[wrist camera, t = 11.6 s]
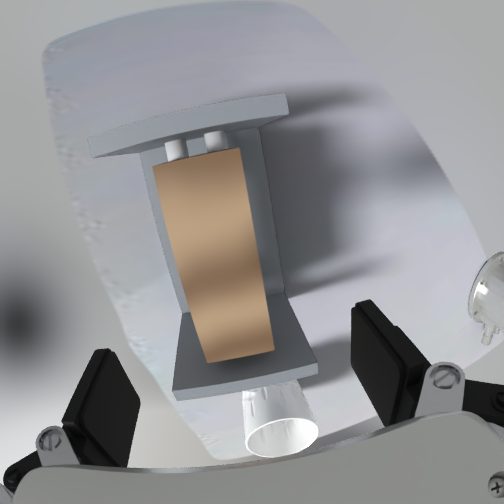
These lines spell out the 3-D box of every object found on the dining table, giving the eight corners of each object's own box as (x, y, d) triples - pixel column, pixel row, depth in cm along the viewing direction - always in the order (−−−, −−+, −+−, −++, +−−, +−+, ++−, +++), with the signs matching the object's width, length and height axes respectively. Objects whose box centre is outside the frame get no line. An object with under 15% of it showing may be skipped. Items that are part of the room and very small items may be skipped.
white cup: (285, 400, 38) (302, 457, 29) (231, 396, 37) (237, 456, 27) (306, 359, 36) (331, 417, 26) (246, 352, 34) (258, 416, 25)
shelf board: (165, 162, 20) (152, 166, 16) (233, 147, 21) (239, 147, 16) (207, 326, 25) (207, 363, 21) (264, 314, 26) (274, 350, 21)
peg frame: (284, 299, 32) (318, 373, 21) (185, 319, 32) (177, 400, 20) (255, 115, 26) (285, 93, 14) (138, 140, 25) (87, 137, 14)
